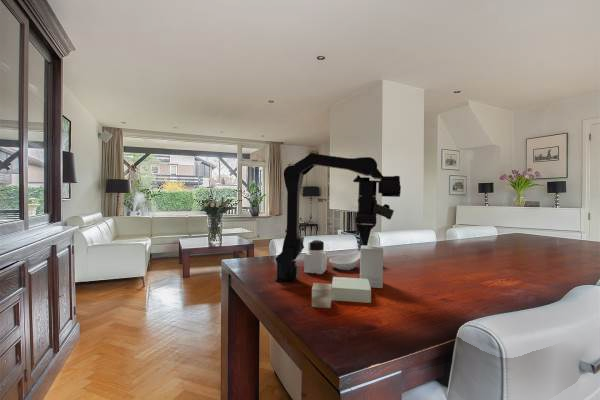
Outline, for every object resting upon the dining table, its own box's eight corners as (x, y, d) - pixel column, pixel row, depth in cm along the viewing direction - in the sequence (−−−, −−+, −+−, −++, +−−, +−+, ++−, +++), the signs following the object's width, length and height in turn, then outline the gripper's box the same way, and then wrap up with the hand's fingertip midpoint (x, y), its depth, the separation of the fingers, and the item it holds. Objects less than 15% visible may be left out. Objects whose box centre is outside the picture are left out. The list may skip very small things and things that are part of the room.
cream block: (311, 307, 79) (311, 288, 79) (313, 300, 84) (313, 282, 84) (330, 308, 78) (330, 289, 78) (331, 301, 83) (331, 284, 83)
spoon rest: (337, 273, 114) (337, 255, 113) (324, 266, 125) (324, 249, 125) (389, 269, 122) (389, 251, 122) (372, 262, 133) (372, 246, 133)
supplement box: (383, 288, 95) (383, 249, 95) (359, 286, 97) (360, 248, 97) (381, 282, 103) (382, 245, 102) (359, 280, 104) (360, 244, 104)
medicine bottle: (326, 270, 118) (327, 240, 118) (322, 274, 111) (322, 242, 111) (309, 268, 120) (309, 238, 120) (304, 272, 113) (304, 241, 113)
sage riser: (331, 301, 84) (331, 287, 84) (332, 289, 95) (333, 276, 95) (370, 304, 83) (371, 290, 83) (367, 291, 94) (368, 278, 94)
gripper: (394, 197, 87) (393, 249, 87) (391, 196, 105) (389, 240, 105) (356, 196, 89) (354, 247, 90) (359, 195, 108) (357, 238, 108)
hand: (365, 243), depth 98 cm, fingers open, 9 cm apart
